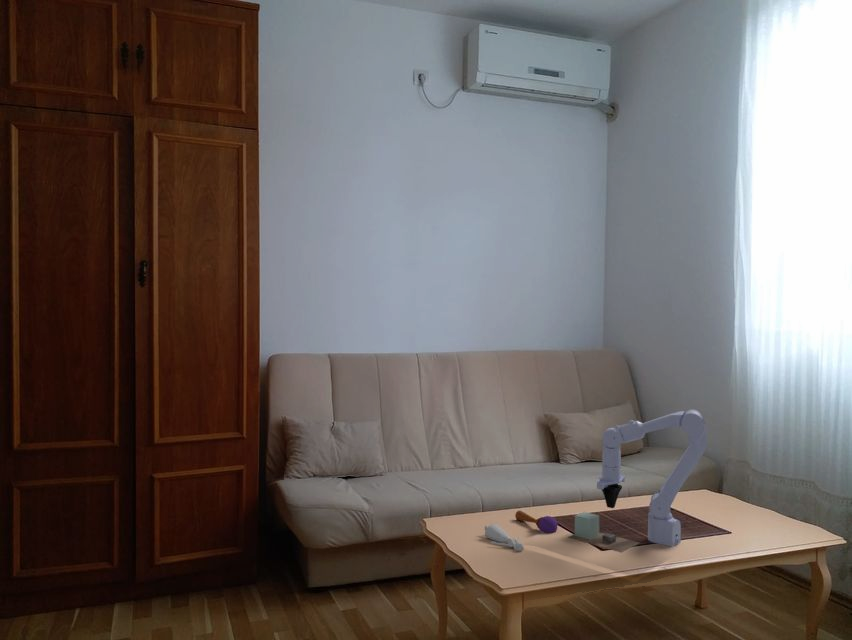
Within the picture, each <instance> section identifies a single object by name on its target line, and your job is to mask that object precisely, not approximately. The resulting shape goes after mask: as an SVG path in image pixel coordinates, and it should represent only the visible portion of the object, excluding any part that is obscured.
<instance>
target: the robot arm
mask: <svg viewBox="0 0 852 640" xmlns="http://www.w3.org/2000/svg"><path fill="white" fill-rule="evenodd" d="M667 428H673V429H677V430H680V429H681V428H682V430H683V431H684V432H685V434H686V435H687V438H688V441H689V444H688V446H687V448H686V450H685V451H684V452H683V454H682V456H681V457H680V459H679V460H678V462H677V463H676V465H675V466H674V468H673V470H672V471H671V473H670V474H669V476H668V477H667V479H666V481H664V484H662V485H661V487H660V489H659V490H658V491H656V492H654V493H653V494H652V495H651V498H650V501H649V505H648V513H647V515H648V518H647V519H648V520H647V521H648V522H647V523H648V524H647V540H648V541H649V542H651V543H654V544H659V545H663V546H668V547H672V548H673V547H675V546H677V545H679V544H680V543H681V540H682V537H681V535H682V534H681V533H682V525H681V521H680V520H679V519H675V518H674V517H673V514H672V513H671V506H672V505H673V503H674V500H675V499H676V496H677V494H678V493H679V491H680V489H681V488H682V486H683V485H684V483H685V482H686V480H687V479H688V478H689V476H690V474H691V473H692V471H693V470H694V468H695V466H696V465H697V464H698V463H699V460H700V459H701V457H702V456H703V454H704V453H705V451H706V450H707V447H708V439H707V429H706V422H705V419H704V417H703V415H702V413H701V412H700V411H698V410H696V409H693V408H692V409H687V410H686V411H684V410H681V411H677V412H672V413H668V414H666V415H663V416H660V417H656V418H655V419H651V420H649V421H648V420H647V421H645V422H641V421H639V420H633V419H631V420H629V421H628V423H625V424H621V425H618V424H617V425H614V427H609V428H606V429H605V431H604V432H603V434H602V436H601V441H602V444H603V445H602V459H601V460H602V464H601V465H602V467H601V468H602V469H601V470H602V474H601V475H602V476H599V477H598V479H599V481H597V482H596V489H599V490H601V491H602V493H603V496H604V499H605V504H606V507H607V508H609V509H615V506H616V504H617V500H618V497H619V495H620V492H621V490H622V489H623V485H621V483H624V482H626V475H622V474H621V472H622V471H621V468H622V466H621V465H622V464H621V462H622V461H621V460H622V459H621V457H622V454H621V453H622V452H621V444H628V443H630V442H633V441H634V442H635V441H638V440H641V439H644V437H645V436H646V433H647V434H648V433H651V432H654V431H659V430H662V429H667Z"/></svg>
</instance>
